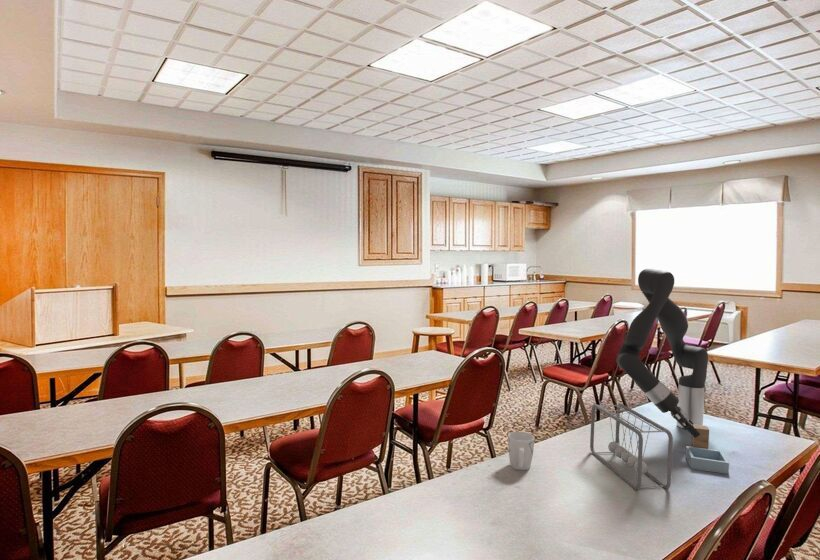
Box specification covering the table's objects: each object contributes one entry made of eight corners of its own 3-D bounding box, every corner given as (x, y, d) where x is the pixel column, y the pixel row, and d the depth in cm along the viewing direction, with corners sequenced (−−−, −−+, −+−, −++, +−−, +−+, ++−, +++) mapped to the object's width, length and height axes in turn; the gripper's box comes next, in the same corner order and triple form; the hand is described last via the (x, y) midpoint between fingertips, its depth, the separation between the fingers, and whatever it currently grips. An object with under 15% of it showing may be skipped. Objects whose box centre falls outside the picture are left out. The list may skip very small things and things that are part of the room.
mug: (534, 477, 152) (535, 445, 151) (506, 474, 153) (507, 443, 153) (533, 462, 163) (533, 432, 162) (507, 459, 165) (508, 430, 164)
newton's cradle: (589, 451, 173) (591, 402, 172) (617, 451, 174) (619, 401, 173) (637, 492, 143) (640, 433, 142) (671, 491, 144) (674, 432, 144)
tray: (685, 456, 171) (686, 446, 170) (720, 461, 167) (721, 450, 166) (690, 468, 161) (691, 457, 160) (728, 474, 157) (729, 463, 157)
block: (691, 448, 178) (692, 424, 177) (705, 450, 176) (706, 425, 176) (693, 453, 174) (694, 428, 173) (708, 455, 172) (709, 429, 171)
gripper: (672, 395, 171) (708, 432, 167) (667, 385, 184) (700, 419, 181) (654, 408, 173) (690, 445, 169) (651, 397, 186) (683, 431, 183)
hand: (695, 432), depth 175 cm, fingers open, 8 cm apart
